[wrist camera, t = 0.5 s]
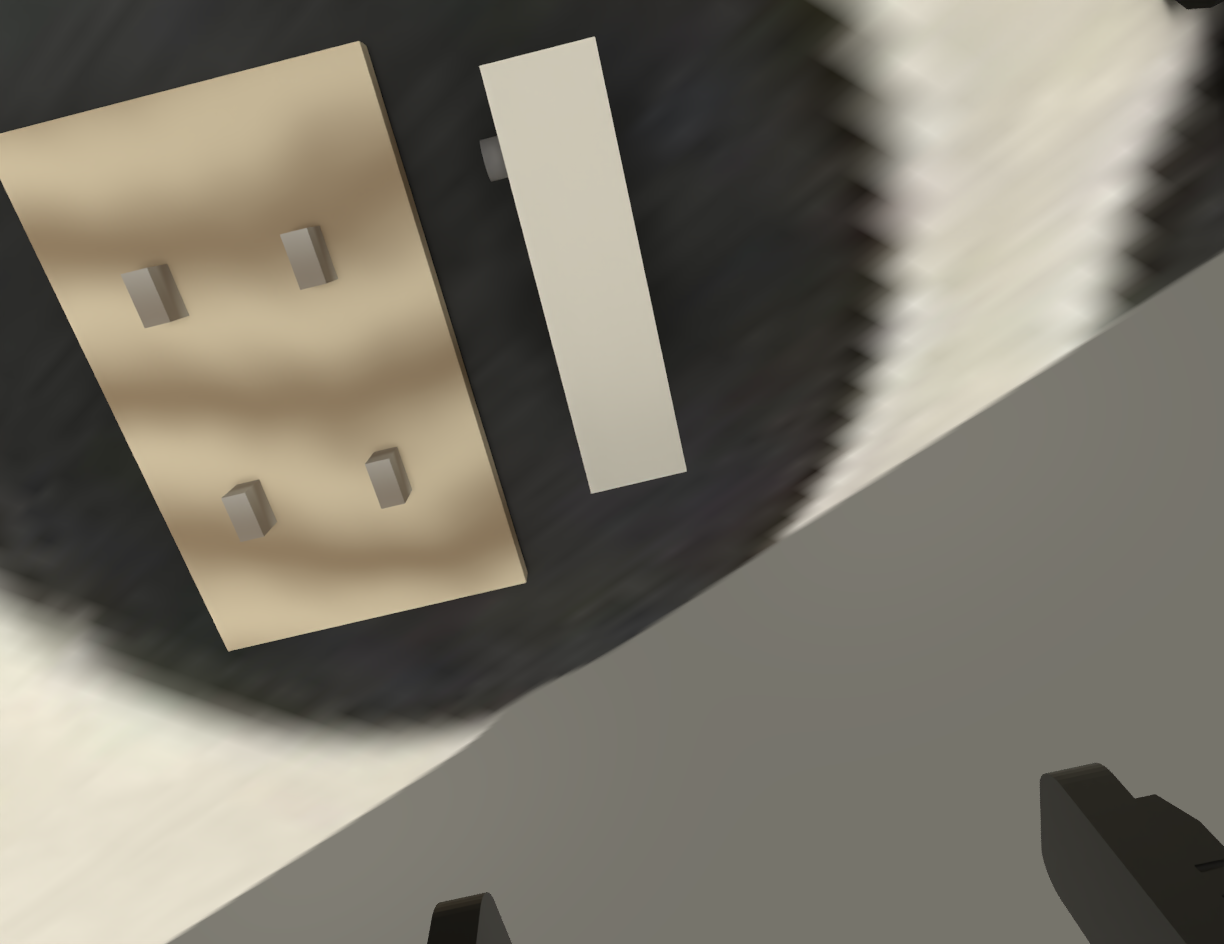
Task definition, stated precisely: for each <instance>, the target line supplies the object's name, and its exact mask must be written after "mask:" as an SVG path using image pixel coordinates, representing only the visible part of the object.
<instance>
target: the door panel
mask: <svg viewBox="0 0 1224 944" xmlns="http://www.w3.org/2000/svg"><path fill="white" fill-rule="evenodd" d="M479 67H480V71H481V75H482V78H483V82H484V86H485V90H486V94H487V97H488V101H489V105H490V109H491V113H492V117H493V120H494V124H495V128H496V132H497V136H494V137H490V138H487V139H483V140H480V147H481V152H482V156H483V160H484V163H485V167H486V170H487V173H488V176H489V178H490V180H491V181H495V180H499V179H503V178H507V177H508V178H509V181H510V185H511V189H512V193H513V197H514V201H515V204H516V208H517V212H518V216H519V220H520V223H521V227H522V231H523V235H524V239H525V243H526V246H527V250H528V254H529V258H530V262H531V265H532V269H533V273H534V277H535V281H536V285H537V288H538V292H539V296H540V300H541V304H542V307H543V311H544V315H545V319H546V323H547V327H548V330H549V334H550V338H551V342H552V346H553V349H554V353H555V357H556V361H557V365H558V369H559V372H560V376H561V380H562V384H563V388H564V391H565V395H566V399H567V403H568V407H569V411H570V414H571V418H572V422H573V426H574V430H575V433H576V437H577V441H578V445H579V449H580V452H581V456H582V460H583V464H584V468H585V472H586V475H587V479H588V483H589V487H590V491H591V494H592V493H596V492H601V491H605V490H609V489H614V488H618V487H622V486H626V485H631V484H635V483H639V482H644V481H648V480H652V479H656V478H661V477H665V476H669V475H674V474H678V473H682V472H686V471H687V470H686V465H685V460H684V456H683V451H682V446H681V442H680V437H679V432H678V427H677V423H676V418H675V413H674V408H673V404H672V399H671V394H670V390H669V385H668V380H667V375H666V371H665V366H664V361H663V356H662V352H661V347H660V342H659V338H658V333H657V328H656V323H655V319H654V314H653V309H652V304H651V300H650V295H649V290H648V286H647V281H646V276H645V271H644V267H643V262H642V257H641V252H640V248H639V243H638V238H637V234H636V229H635V224H634V219H633V215H632V210H631V205H630V200H629V196H628V191H627V186H626V182H625V177H624V172H623V167H622V163H621V158H620V153H619V148H618V144H617V139H616V134H615V130H614V125H613V120H612V115H611V111H610V106H609V101H608V96H607V92H606V87H605V82H604V78H603V73H602V68H601V63H600V59H599V54H598V49H597V44H596V40H595V37H591V38H587V39H583V40H579V41H575V42H571V43H567V44H563V45H560V46H556V47H552V48H548V49H544V50H540V51H536V52H532V53H528V54H524V55H520V56H517V57H513V58H509V59H505V60H501V61H497V62H493V63H489V64H485V65H481V66H479Z"/></svg>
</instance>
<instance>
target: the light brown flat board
mask: <svg viewBox="0 0 1224 944" xmlns="http://www.w3.org/2000/svg"><path fill="white" fill-rule="evenodd" d="M0 179H1V182H2V184H3V186H4V188H5V190H6V192H7V194H8V196H9V198H10V200H11V202H12V204H13V206H14V208H15V211H16V213H17V215H18V217H19V219H20V221H21V223H22V225H23V227H24V229H25V231H26V233H27V235H28V238H29V240H30V242H31V244H32V246H33V248H34V250H35V252H36V254H37V256H38V258H39V260H40V262H41V264H42V267H43V269H44V271H45V273H46V275H47V277H48V279H49V281H50V283H51V285H52V287H53V289H54V291H55V293H56V296H57V298H58V300H59V302H60V304H61V306H62V308H63V310H64V312H65V314H66V316H67V318H68V320H69V322H70V325H71V327H72V329H73V331H74V333H75V335H76V337H77V339H78V341H79V343H80V345H81V347H82V349H83V351H84V354H85V356H86V358H87V360H88V362H89V364H90V366H91V368H92V370H93V372H94V374H95V376H96V378H97V380H98V383H99V385H100V387H101V389H102V391H103V393H104V395H105V397H106V399H107V401H108V403H109V405H110V407H111V409H112V412H113V414H114V416H115V418H116V420H117V422H118V424H119V426H120V428H121V430H122V432H123V434H124V436H125V438H126V441H127V443H128V445H129V447H130V449H131V451H132V453H133V455H134V457H135V459H136V461H137V463H138V465H139V467H140V470H141V472H142V474H143V476H144V478H145V480H146V482H147V484H148V486H149V488H150V490H151V492H152V494H153V496H154V499H155V501H156V503H157V505H158V507H159V509H160V511H161V513H162V515H163V517H164V519H165V521H166V523H167V525H168V528H169V530H170V532H171V534H172V536H173V538H174V540H175V542H176V544H177V546H178V548H179V550H180V552H181V554H182V557H183V559H184V561H185V563H186V565H187V567H188V569H189V571H190V573H191V575H192V577H193V579H194V581H195V584H196V586H197V588H198V590H199V592H200V594H201V596H202V598H203V600H204V602H205V604H206V606H207V608H208V610H209V613H210V615H211V617H212V619H213V621H214V623H215V625H216V627H217V629H218V631H219V633H220V635H221V637H222V639H223V642H224V644H225V646H226V648H227V650H228V651H231V650H236V649H240V648H244V647H249V646H253V645H257V644H262V643H266V642H270V641H275V640H279V639H284V638H288V637H292V636H297V635H301V634H305V633H310V632H314V631H318V630H323V629H327V628H331V627H336V626H340V625H344V624H349V623H353V622H357V621H362V620H366V619H370V618H375V617H379V616H383V615H388V614H392V613H396V612H401V611H405V610H410V609H414V608H418V607H423V606H427V605H431V604H436V603H440V602H444V601H449V600H453V599H457V598H462V597H466V596H470V595H475V594H479V593H483V592H488V591H492V590H496V589H501V588H505V587H509V586H514V585H518V584H522V583H526V581H527V573H528V572H527V569H526V565H525V562H524V559H523V556H522V552H521V549H520V546H519V543H518V539H517V536H516V533H515V529H514V526H513V523H512V520H511V516H510V513H509V510H508V507H507V503H506V500H505V497H504V494H503V490H502V487H501V484H500V480H499V477H498V474H497V471H496V467H495V464H494V461H493V458H492V454H491V451H490V448H489V445H488V441H487V438H486V435H485V431H484V428H483V425H482V422H481V418H480V415H479V412H478V409H477V405H476V402H475V399H474V396H473V392H472V389H471V386H470V382H469V379H468V376H467V373H466V369H465V366H464V363H463V360H462V356H461V353H460V350H459V347H458V343H457V340H456V337H455V333H454V330H453V327H452V324H451V320H450V317H449V314H448V311H447V307H446V304H445V301H444V298H443V294H442V291H441V288H440V284H439V281H438V278H437V275H436V271H435V268H434V265H433V262H432V258H431V255H430V252H429V248H428V245H427V242H426V239H425V235H424V232H423V229H422V226H421V222H420V219H419V216H418V213H417V209H416V206H415V203H414V199H413V196H412V193H411V190H410V186H409V183H408V180H407V177H406V173H405V170H404V167H403V164H402V160H401V157H400V154H399V150H398V147H397V144H396V141H395V137H394V134H393V131H392V128H391V124H390V121H389V118H388V115H387V111H386V108H385V105H384V101H383V98H382V95H381V92H380V88H379V85H378V82H377V79H376V75H375V72H374V69H373V66H372V62H371V59H370V56H369V52H368V49H367V46H366V45H365V44H363V43H362V42H360V41H357V42H353V43H349V44H345V45H341V46H337V47H334V48H330V49H326V50H322V51H318V52H314V53H310V54H306V55H303V56H299V57H295V58H291V59H287V60H283V61H279V62H276V63H272V64H268V65H264V66H260V67H256V68H252V69H248V70H245V71H241V72H237V73H233V74H229V75H225V76H221V77H217V78H214V79H210V80H206V81H202V82H198V83H194V84H190V85H187V86H183V87H179V88H175V89H171V90H167V91H163V92H159V93H156V94H152V95H148V96H144V97H140V98H136V99H132V100H129V101H125V102H121V103H117V104H113V105H109V106H105V107H101V108H98V109H94V110H90V111H86V112H82V113H78V114H74V115H70V116H67V117H63V118H59V119H55V120H51V121H47V122H43V123H40V124H36V125H32V126H28V127H24V128H20V129H16V130H12V131H9V132H5V133H1V134H0Z"/></svg>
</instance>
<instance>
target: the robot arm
mask: <svg viewBox="0 0 1224 944" xmlns="http://www.w3.org/2000/svg"><path fill="white" fill-rule="evenodd" d="M1040 808H1041V843H1042V855H1043V859H1044V863H1045V866H1046V869H1047V872H1048V875H1049V877H1050V880H1051V882H1052V884H1053V886H1054V888H1055V890H1056V892H1057V894H1058V895H1059V897H1060V899H1061V900H1062V902H1063V903H1064V905H1065V906H1066V908H1067V909H1068V911H1069V912H1070V914H1071V915H1072V917H1073V918H1074V920H1075V921H1076V923H1077V924H1078V926H1079V927H1080V929H1081V930H1082V932H1083V933H1084V934H1085V936H1086V938H1087V939H1088V941H1089V942H1090V944H1224V846H1223V845H1222V844H1221V843H1220V842H1219V841H1218V840H1217V839H1216V838H1215V837H1214V836H1213V835H1212V834H1211V833H1210V832H1209V831H1208V829H1207V828H1205V826H1204V825H1203V824H1202V823H1201V822H1200V821H1198V820H1197V819H1195V818H1193V817H1192V816H1190V815H1189V814H1187V813H1185V812H1184V811H1182V810H1180V809H1179V808H1177V807H1175V806H1174V805H1172V804H1170V803H1169V802H1167V801H1165V800H1164V799H1162V798H1161V797H1159V796H1157V795H1150V796H1145V797H1140V798H1136V799H1135V798H1133V796H1132V795H1131V794H1130V793H1129V792H1128V790H1126V788H1125V787H1124V786H1123V785H1122V784H1121V783H1120V781H1119V780H1118V779H1117V778H1116V777H1115V776H1114V775H1113V774H1112V773H1111V772H1110V771H1109V770H1108V769H1107V768H1106V767H1105V766H1103V765H1101V764H1099V763H1093V764H1088V765H1083V766H1079V767H1074V768H1069V769H1064V770H1060V771H1055V772H1050V773H1046V774H1043V775H1042V776H1041V779H1040ZM427 944H512V943H511V941H510V938H509V936H508V933H507V931H506V928H505V926H504V924H503V921H502V919H501V916H500V914H499V911H498V909H497V906H496V904H495V901H494V899H493V897H492V896H491V894H490V893H487V892H486V893H482V894H477V895H473V896H468V897H464V898H459V899H454V900H449V901H445V902H440V903H438V904H437V905H436V907H435V909H434V912H433V915H432V920H431V926H430V931H429V937H428V942H427Z"/></svg>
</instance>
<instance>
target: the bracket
mask: <svg viewBox="0 0 1224 944" xmlns="http://www.w3.org/2000/svg"><path fill="white" fill-rule="evenodd" d="M1176 1H1177V2H1178V3H1180V4H1181V5H1182V6H1184V7H1185V8H1186V9H1197V8H1210V7H1213V6H1215V5H1217V4H1219V3H1221V2H1223V1H1224V0H1176Z"/></svg>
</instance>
